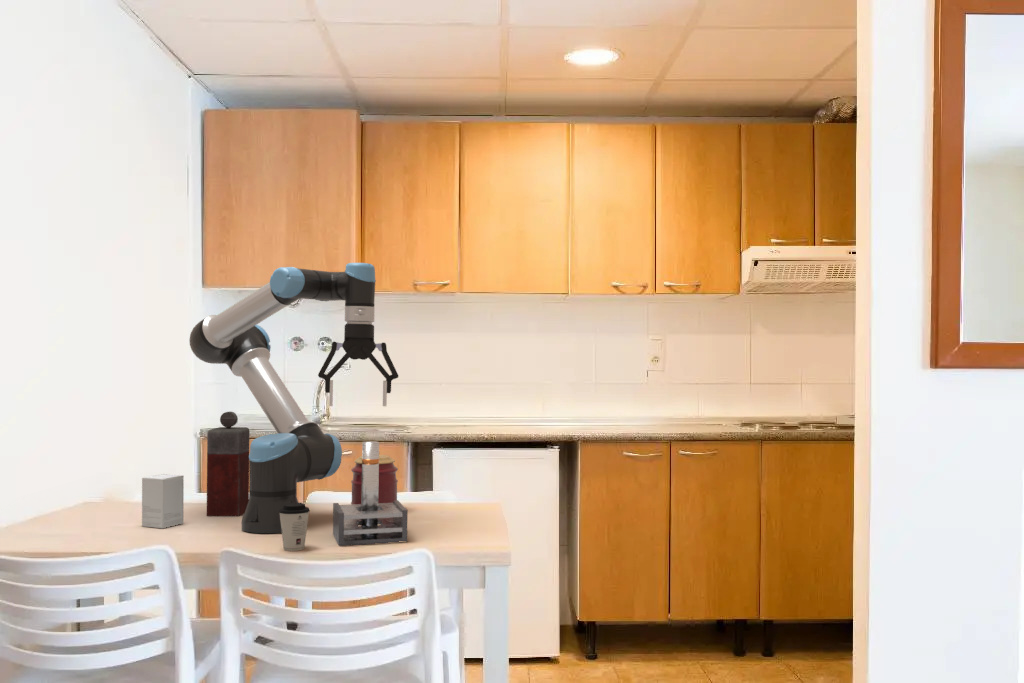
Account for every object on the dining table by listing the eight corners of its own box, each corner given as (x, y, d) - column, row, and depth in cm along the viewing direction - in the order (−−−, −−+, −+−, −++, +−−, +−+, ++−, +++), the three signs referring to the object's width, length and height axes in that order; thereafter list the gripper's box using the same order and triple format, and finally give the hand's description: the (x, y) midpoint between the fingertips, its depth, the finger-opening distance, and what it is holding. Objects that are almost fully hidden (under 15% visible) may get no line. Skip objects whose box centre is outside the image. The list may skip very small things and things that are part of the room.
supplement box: (184, 523, 227) (184, 475, 227) (162, 529, 220) (162, 478, 220) (163, 521, 230) (163, 473, 230) (140, 526, 223) (141, 476, 223)
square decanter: (251, 508, 249) (252, 410, 249) (239, 516, 238) (240, 412, 238) (220, 508, 249) (221, 409, 249) (206, 516, 238) (207, 412, 238)
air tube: (361, 535, 209) (363, 443, 209) (359, 532, 213) (361, 441, 213) (379, 534, 210) (380, 443, 210) (376, 531, 214) (378, 441, 214)
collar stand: (338, 545, 202) (338, 513, 203) (332, 533, 216) (333, 503, 216) (407, 542, 207) (407, 510, 207) (397, 530, 220) (397, 500, 221)
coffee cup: (307, 551, 196) (307, 507, 197) (275, 552, 196) (275, 507, 196) (311, 545, 203) (312, 501, 203) (281, 545, 203) (281, 502, 203)
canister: (383, 505, 256) (383, 444, 256) (406, 512, 246) (406, 448, 246) (342, 510, 248) (343, 447, 248) (364, 517, 238) (365, 452, 238)
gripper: (309, 321, 219) (308, 406, 219) (409, 324, 225) (408, 407, 224) (309, 322, 226) (308, 404, 226) (406, 324, 232) (405, 405, 232)
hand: (357, 406), depth 225 cm, fingers open, 13 cm apart
